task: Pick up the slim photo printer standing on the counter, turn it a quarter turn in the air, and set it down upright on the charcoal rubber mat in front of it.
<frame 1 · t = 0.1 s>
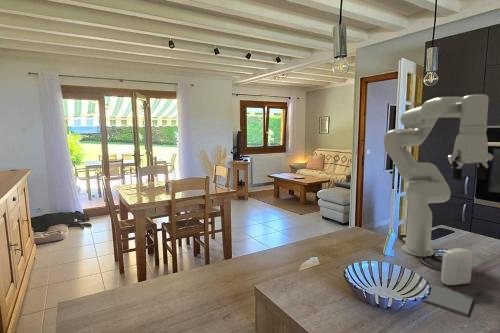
hand: (468, 179, 107), 36 cm above the counter, tool pointing down, fingers open, 9 cm apart
mat: (447, 300, 95), on the counter
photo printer: (455, 283, 107), on the counter
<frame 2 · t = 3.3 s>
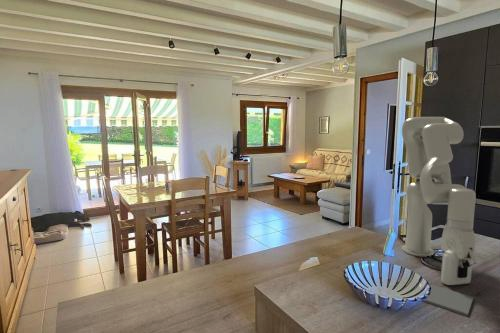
hand: (455, 273, 106), 3 cm above the counter, tool pointing down, fingers closed on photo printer, 4 cm apart
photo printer: (455, 282, 107), on the counter, touching gripper
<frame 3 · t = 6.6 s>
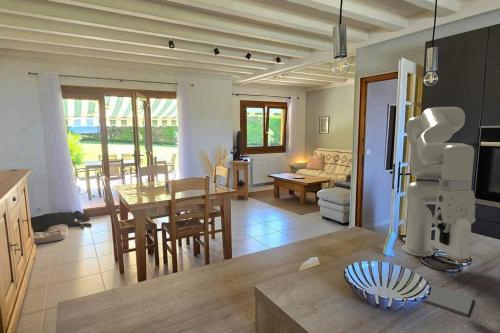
hand: (451, 242, 93), 19 cm above the counter, tool pointing down, fingers closed on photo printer, 4 cm apart
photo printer: (450, 253, 94), point 15 cm above the counter, touching gripper
when the fingers open (5 cm above the counter, at t = 9.7 s): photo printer drops 1 cm, resting on mat.
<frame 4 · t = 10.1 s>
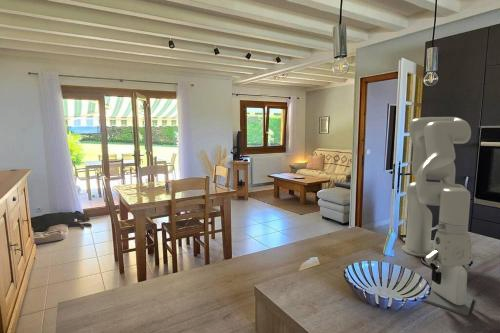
hand: (448, 281, 95), 6 cm above the counter, tool pointing down, fingers open, 8 cm apart
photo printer: (447, 297, 96), point 1 cm above the counter, touching mat
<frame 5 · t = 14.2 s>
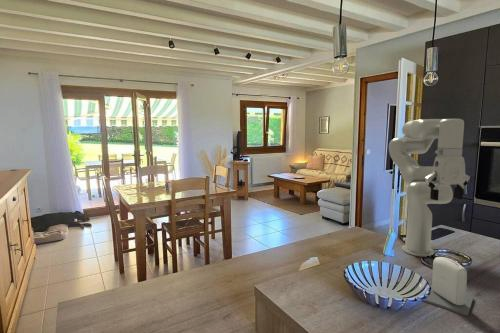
hand: (446, 199, 111), 28 cm above the counter, tool pointing down, fingers open, 9 cm apart
nothing on the counter moved.
at the end: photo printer inside the target area on the mat (0.3 cm from its centre), point 0.7 cm above the mat's base; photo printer tilted 1°; the gripper is holding nothing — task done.
